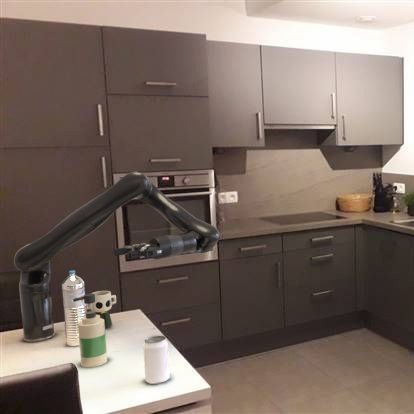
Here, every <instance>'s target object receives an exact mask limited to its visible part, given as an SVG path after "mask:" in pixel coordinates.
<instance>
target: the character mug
mask: <svg viewBox="0 0 414 414" xmlns="http://www.w3.org/2000/svg"><path fill="white" fill-rule="evenodd" d="M92 293H93V294H95V302H94V303H92V308H88V304H86V308H87V309H86V310H90V311H96V315H100V318H102V319H104V322H105V328H110V327H112V325H113V322H112V317H111V313H110V311H111V309H112V307H113V305H116V304H117V296H116V294H113V295H112V291H110V290H98V291H94V292H92ZM112 299H113V300H112Z"/></svg>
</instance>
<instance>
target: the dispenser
mask: <svg viewBox="0 0 414 414" xmlns="http://www.w3.org/2000/svg"><path fill="white" fill-rule="evenodd" d="M78 329H79V344H80V345H79V356H80V365H81V366H82V367H83V368H94V367H95V368H96V367H99V366H102V365H104V364H106V363H107V362H108V349H107V348H108V347H107V335H106V326H105V322H104V319H102V318H100V315H96V311H91V310H89V311H87V312H86V316H85V317H83V318H82V321H81V322H79V323H78Z"/></svg>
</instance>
